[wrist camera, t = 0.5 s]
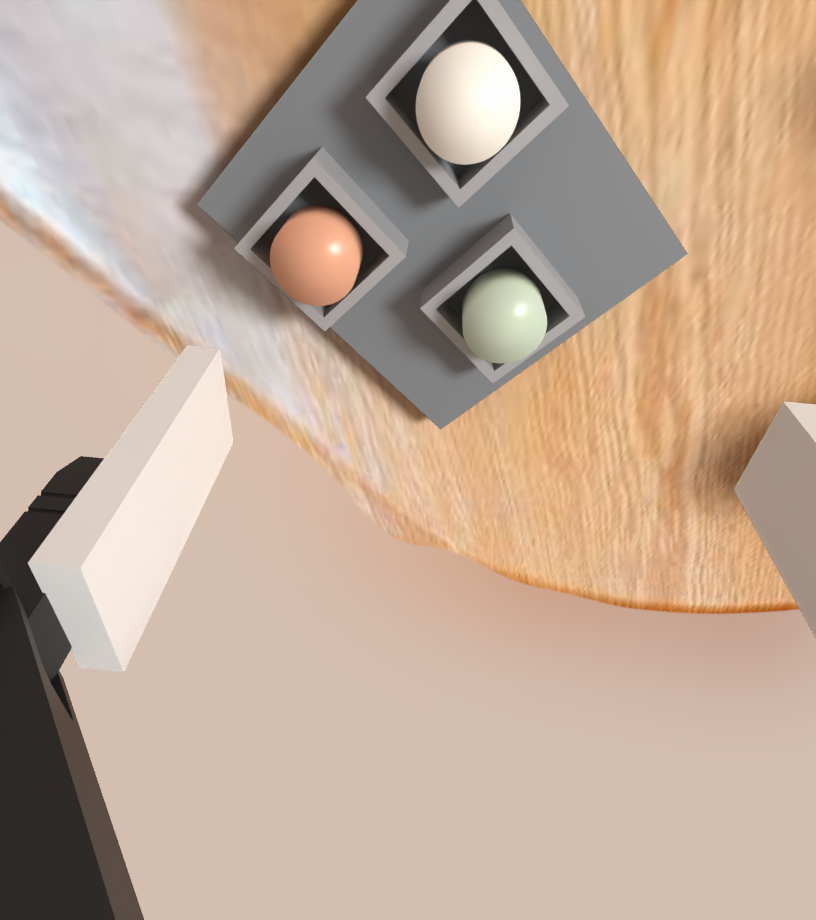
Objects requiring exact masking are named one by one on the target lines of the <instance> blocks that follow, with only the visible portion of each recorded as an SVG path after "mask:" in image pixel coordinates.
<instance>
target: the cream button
mask: <svg viewBox="0 0 816 920" xmlns="http://www.w3.org/2000/svg"><path fill="white" fill-rule="evenodd" d="M519 112H520V91H519V85H518V82H517V79H516V76H515V74H514V72H513V70H512V68H511V67H510V65H509V64H508V62H507V61H506V59H505V58H504V57H503V56H502V54H501V53H500V52H499V51H497V50H496V49H495V48H494V47H492V46H491V45H489V44H486V43H484V42H481V41H477V40H463V41H458V42H455V43H452V44H450V45H448V46H446V47H445V48H443V49H442V50H441V51H439V52H438V53H437V54H436V55H435V56H434V57H433V59H432V60H431V61H430V63H429V64H428V66H427V67H426V69H425V71H424V74H423V76H422V79H421V82H420V85H419V88H418V92H417V97H416V118H417V123H418V127H419V130H420V133H421V135H422V137H423V139H424V141H425V142H426V144H427V145H428V146H429V148H430V149H431V150H432V151H433V152H434V153H435V154H437V155H438V156H439V157H441V158H443V159H444V160H446V161H449V162H451V163H455V164H462V165H468V164H475V163H479V162H482V161H484V160H486V159H489V158H490V157H492V156H493V155H495V154H496V153H497V152H498V151H500V150H501V148H502V147H503V146H504V145H505V144H506V143H507V141H508V140H509V139H510V137H511V135H512V133H513V131H514V129H515V127H516V124H517V121H518V117H519Z"/></svg>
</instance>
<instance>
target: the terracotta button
mask: <svg viewBox="0 0 816 920" xmlns="http://www.w3.org/2000/svg"><path fill="white" fill-rule="evenodd" d="M362 257H363V244H362V240H361V237H360V234H359V232H358V230H357V228H356V226H355V225H354V223H353V222H352V221H351V220H350V219H349V218H348V217H347V216H346V215H345V214H343V213H342V212H341V211H339V210H337V209H335V208H332V207H330V206H326V205H309V206H305V207H303V208H301V209H299V210H297V211H296V212H294V213H293V214H292V215H291V216H290V217H289V218H288V220H287V221H286V222H285V224H284V225H283V227H282V228H281V229H280V231H279V232H278V234H277V235H276V237H275V239H274V240H273V243H272V246H271V250H270V265H271V269H272V272H273V275H274V277H275V279H276V281H277V283H278V284H279V285H280V287H281V288H282V289H283V290H284V291H285V292H286V293H287V294H288V295H289V296H291V297H292V298H294V299H295V300H297V301H299V302H301V303H304V304H308V305H313V306H325V305H330V304H333V303H335V302H338V301H339V300H341V299H342V298H344V297H345V296H346V295H347V294H348V293H349V292H350V290H351V289H352V287H353V285H354V283H355V280H356V277H357V274H358V271H359V268H360V265H361V262H362Z"/></svg>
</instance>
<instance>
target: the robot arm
mask: <svg viewBox="0 0 816 920" xmlns="http://www.w3.org/2000/svg"><path fill="white" fill-rule="evenodd" d="M232 444H233V436H232V429H231V422H230V415H229V407H228V400H227V393H226V386H225V379H224V372H223V365H222V358H221V351H220V348H214V347H204V346H193V345H187V346H186V347H185V349H184V350H183V351H182V353H181V354H180V356H179V357H178V358H177V360H176V361H175V362H174V364H173V365H172V367H171V368H170V369H169V371H168V372H167V373H166V375H165V376H164V377H163V379H162V380H161V381H160V383H159V384H158V386H157V387H156V388H155V390H154V391H153V392H152V394H151V395H150V397H149V398H148V399H147V401H146V402H145V403H144V405H143V406H142V407H141V409H140V410H139V412H138V413H137V415H136V416H135V417H134V418H133V420H132V421H131V423H130V424H129V425H128V427H127V428H126V429H125V431H124V432H123V433H122V435H121V436H120V438H119V439H118V440H117V442H116V443H115V444H114V446H113V447H112V449H111V450H110V451H109V453H108V454H107V456H106V457H105V458H93V457H83V456H81V457H79V458H78V459H76V460H75V461H73V462H72V463H70V464H69V465H67V466H65V467H64V468H62V469H61V470H59V471H58V472H57V473H56V474H55V475H54V476H53V478H52V479H51V480H50V481H49V482H48V484H47V485H46V486H45V488H44V489H43V490H42V491H41V496H37V497H36V499H35V500H34V501H33V502H32V504H31V505H30V506H29V507H28V509H29V510H28V512H24V513H23V515H22V516H21V517H20V518H19V520H18V521H17V522H16V523H15V525H14V526H13V527H12V528H11V530H10V531H9V532H8V533H7V535H6V536H5V537H4V538H3V539H2V541H1V542H0V920H144V918H143V915H142V912H141V909H140V906H139V903H138V900H137V897H136V894H135V891H134V888H133V885H132V882H131V879H130V876H129V873H128V870H127V868H126V864H125V861H124V859H123V855H122V853H121V849H120V846H119V844H118V840H117V837H116V834H115V831H114V829H113V825H112V823H111V820H110V816H109V813H108V810H107V808H106V804H105V802H104V799H103V796H102V793H101V790H100V787H99V784H98V781H97V778H96V775H95V772H94V769H93V766H92V763H91V760H90V757H89V754H88V751H87V748H86V745H85V742H84V739H83V736H82V733H81V730H80V727H79V724H78V721H77V718H76V715H75V712H74V710H73V706H72V703H71V700H70V697H69V694H68V691H67V689H66V685H65V682H64V679H63V677H62V675H61V673H60V672H59V669H60V667H61V666H62V664H63V662H64V660H65V658H66V657H67V655H68V653H69V652H70V650H71V651H72V653H73V655H74V657H75V659H76V661H77V663H78V665H79V667H80V668H84V669H95V670H105V671H116V672H124V671H125V669H126V667H127V664H128V662H129V660H130V658H131V656H132V654H133V652H134V650H135V648H136V646H137V643H138V641H139V639H140V637H141V635H142V633H143V631H144V629H145V627H146V625H147V623H148V620H149V618H150V616H151V614H152V612H153V610H154V608H155V606H156V604H157V602H158V599H159V597H160V595H161V593H162V591H163V589H164V587H165V585H166V582H167V581H168V578H169V576H170V574H171V572H172V570H173V568H174V566H175V564H176V561H177V560H178V558H179V555H180V553H181V551H182V549H183V547H184V545H185V543H186V540H187V538H188V536H189V534H190V532H191V530H192V528H193V526H194V524H195V522H196V520H197V517H198V515H199V513H200V511H201V509H202V507H203V505H204V503H205V501H206V499H207V497H208V495H209V492H210V490H211V488H212V486H213V484H214V482H215V480H216V478H217V476H218V474H219V471H220V469H221V467H222V465H223V463H224V461H225V459H226V457H227V455H228V453H229V450H230V448H231V446H232ZM733 490H734V491H735V493H736V495H737V497H738V499H739V500H740V502H741V504H742V506H743V508H744V510H745V511H746V513H747V515H748V517H749V519H750V520H751V522H752V524H753V526H754V528H755V529H756V531H757V533H758V535H759V537H760V538H761V540H762V542H763V544H764V546H765V547H766V549H767V551H768V553H769V555H770V557H771V558H772V560H773V562H774V564H775V566H776V567H777V569H778V571H779V573H780V575H781V576H782V578H783V580H784V582H785V584H786V585H787V587H788V589H789V591H790V593H791V595H792V596H793V598H794V600H795V602H796V604H797V605H798V607H799V609H800V611H801V613H802V614H803V616H804V618H805V620H806V622H807V623H808V625H809V627H810V629H811V631H812V632H813V634H814V636H815V638H816V404H805V403H795V402H784V401H783V403H782V405H781V406H780V408H779V410H778V412H777V413H776V415H775V417H774V419H773V421H772V422H771V424H770V426H769V428H768V429H767V431H766V433H765V435H764V436H763V438H762V440H761V442H760V443H759V445H758V447H757V449H756V451H755V452H754V454H753V456H752V458H751V459H750V461H749V463H748V465H747V466H746V468H745V470H744V472H743V474H742V475H741V477H740V479H739V481H738V482H737V484H736V486H735V488H734V489H733Z"/></svg>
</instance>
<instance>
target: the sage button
mask: <svg viewBox="0 0 816 920" xmlns="http://www.w3.org/2000/svg"><path fill="white" fill-rule="evenodd" d="M462 327H463V336H464V339H465V342H466V344H467V345H468V347H469V348H470V350H471V351H472V352H473V353H474V354H475V355H477V356H478V357H480V358H481V359H483V360H486V361H488V362H492V363H499V364H500V363H511V362H516V361H518V360H521V359H523V358H525V357H527V356H528V355H530V354H531V353H532V352H533V351H534V350H535V349H536V348H537V347H538V346H539V345H540V343H541V342H542V340H543V338H544V336H545V333H546V329H547V316H546V311H545V308H544V304H543V301H542V297H541V294H540V291H539V289H538V287H537V285H536V284H535V282H534V281H533V280H532V279H531V278H530V277H529V276H527V275H526V274H524V273H522V272H520V271H517V270H514V269H496V270H492V271H489V272H487V273H485V274H483V275H481V276H480V277H478V278H477V279H476V280H475V281H474V282H473V283H472V284H471V285H470V286H469V288H468V289H467V291H466V293H465V295H464V298H463V303H462Z"/></svg>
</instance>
